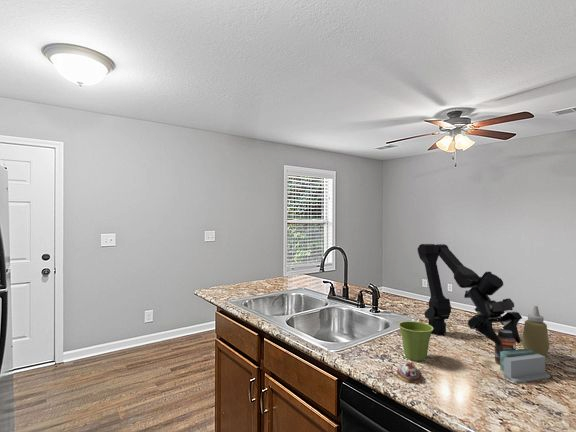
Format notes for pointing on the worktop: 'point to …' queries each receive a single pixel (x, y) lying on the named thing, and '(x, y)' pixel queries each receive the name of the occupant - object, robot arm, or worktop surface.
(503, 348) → the supplement bottle
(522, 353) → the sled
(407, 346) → the plant pot
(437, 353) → the worktop surface
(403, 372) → the pastry
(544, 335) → the squeeze bottle
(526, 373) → the backstop wall
